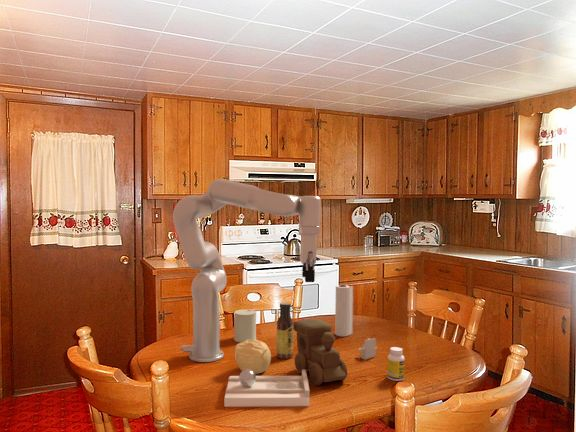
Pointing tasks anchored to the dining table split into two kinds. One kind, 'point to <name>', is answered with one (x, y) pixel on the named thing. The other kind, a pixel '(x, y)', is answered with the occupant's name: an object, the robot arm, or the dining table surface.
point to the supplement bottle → (395, 364)
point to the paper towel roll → (344, 310)
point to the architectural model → (368, 349)
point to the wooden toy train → (318, 352)
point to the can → (245, 325)
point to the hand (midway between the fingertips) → (308, 279)
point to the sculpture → (253, 356)
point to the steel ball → (247, 378)
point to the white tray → (268, 391)
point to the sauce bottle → (284, 332)
